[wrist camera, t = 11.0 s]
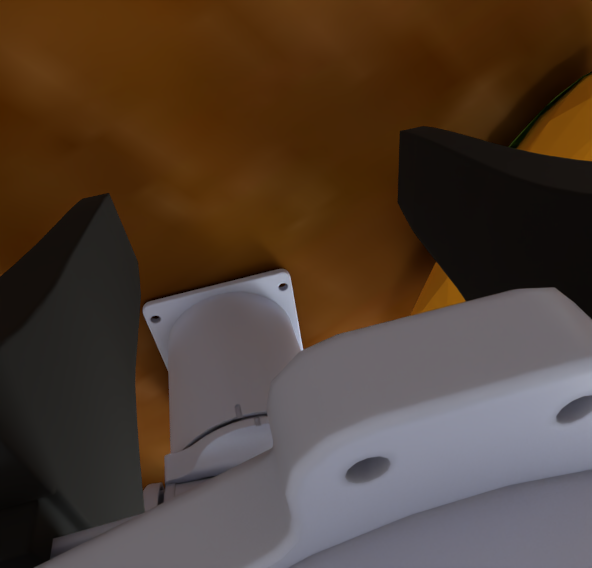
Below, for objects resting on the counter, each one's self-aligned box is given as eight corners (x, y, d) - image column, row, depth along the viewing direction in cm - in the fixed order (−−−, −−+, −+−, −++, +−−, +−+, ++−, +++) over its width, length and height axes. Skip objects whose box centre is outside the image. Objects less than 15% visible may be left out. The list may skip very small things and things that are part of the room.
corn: (824, 129, 19) (482, 446, 26) (666, 89, 25) (427, 355, 33) (741, 17, 16) (381, 412, 23) (584, 4, 22) (342, 319, 30)
